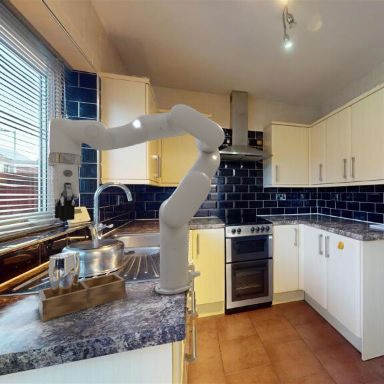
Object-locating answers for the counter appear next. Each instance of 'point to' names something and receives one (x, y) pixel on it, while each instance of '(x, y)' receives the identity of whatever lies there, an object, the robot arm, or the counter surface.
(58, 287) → the beer glass
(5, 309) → the counter surface
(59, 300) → the holder
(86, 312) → the counter surface
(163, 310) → the counter surface
